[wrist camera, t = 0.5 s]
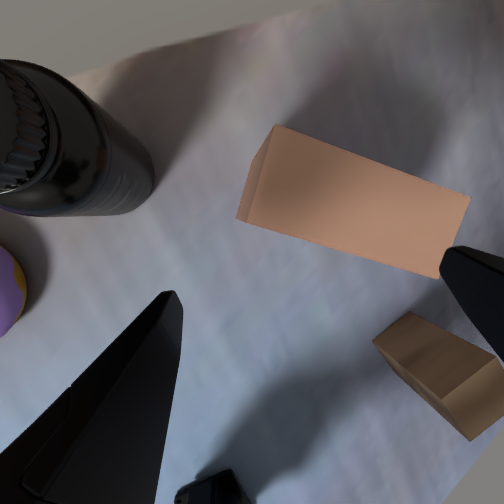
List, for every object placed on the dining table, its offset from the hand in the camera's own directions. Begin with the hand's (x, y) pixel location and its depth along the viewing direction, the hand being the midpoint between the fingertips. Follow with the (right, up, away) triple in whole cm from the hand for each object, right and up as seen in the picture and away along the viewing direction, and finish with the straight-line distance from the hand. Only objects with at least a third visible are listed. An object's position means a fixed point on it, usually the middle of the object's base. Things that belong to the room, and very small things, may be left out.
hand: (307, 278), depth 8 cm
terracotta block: (+3, +5, +14) cm, 15 cm away
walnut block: (+14, -9, +17) cm, 24 cm away
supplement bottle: (-13, +7, +11) cm, 19 cm away
